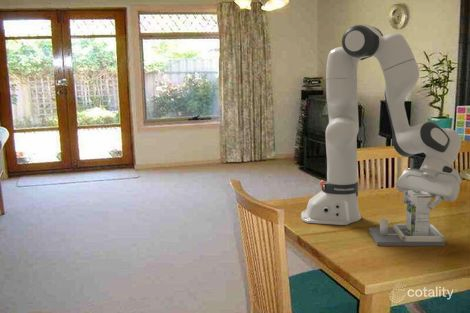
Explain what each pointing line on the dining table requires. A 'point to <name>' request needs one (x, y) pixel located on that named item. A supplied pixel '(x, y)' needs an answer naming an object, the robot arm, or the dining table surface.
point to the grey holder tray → (404, 236)
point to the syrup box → (417, 213)
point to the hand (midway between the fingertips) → (417, 205)
